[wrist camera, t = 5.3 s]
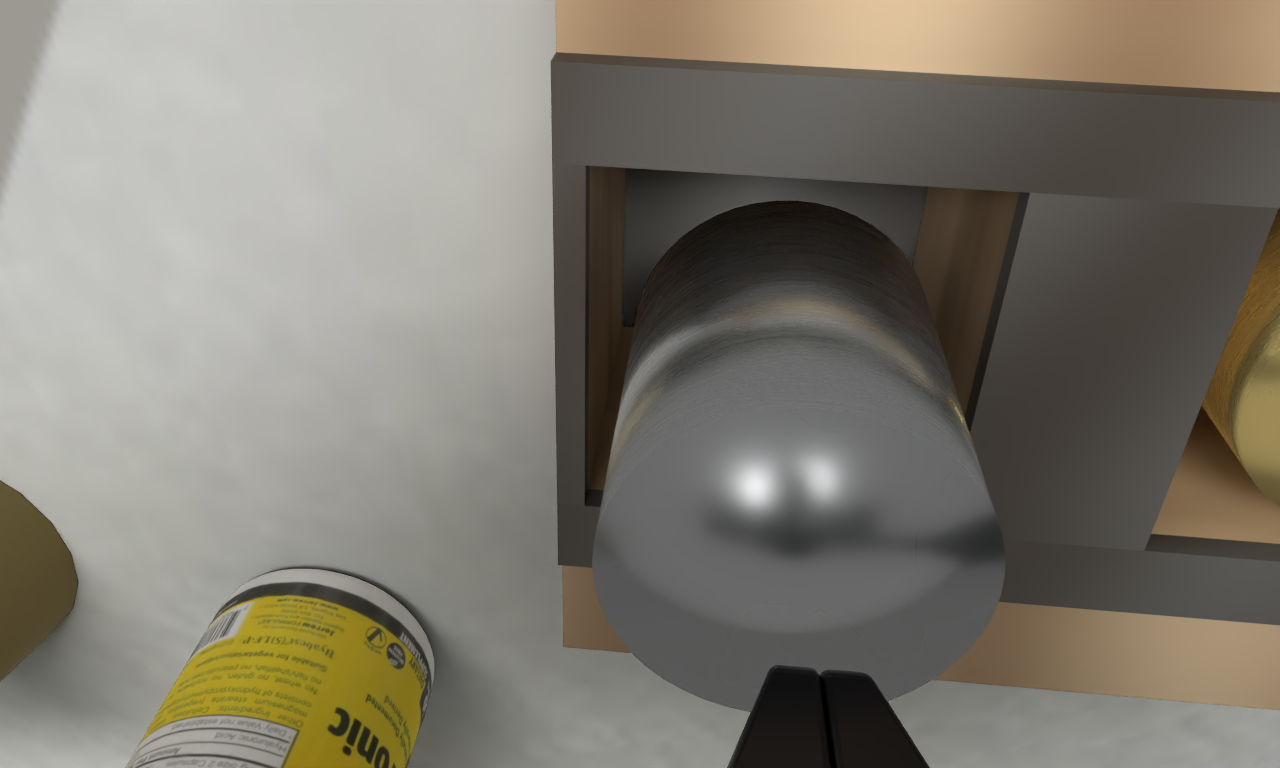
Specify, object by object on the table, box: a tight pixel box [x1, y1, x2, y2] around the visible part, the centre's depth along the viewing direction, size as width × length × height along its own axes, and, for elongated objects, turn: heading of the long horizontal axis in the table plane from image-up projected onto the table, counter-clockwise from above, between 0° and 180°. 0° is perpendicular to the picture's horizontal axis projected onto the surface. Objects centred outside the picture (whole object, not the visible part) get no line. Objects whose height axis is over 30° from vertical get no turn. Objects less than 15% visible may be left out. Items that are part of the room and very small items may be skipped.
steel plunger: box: [592, 201, 1005, 712], centre depth 12 cm, size 4×4×5 cm
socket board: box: [551, 0, 1280, 710], centre depth 15 cm, size 14×12×5 cm
